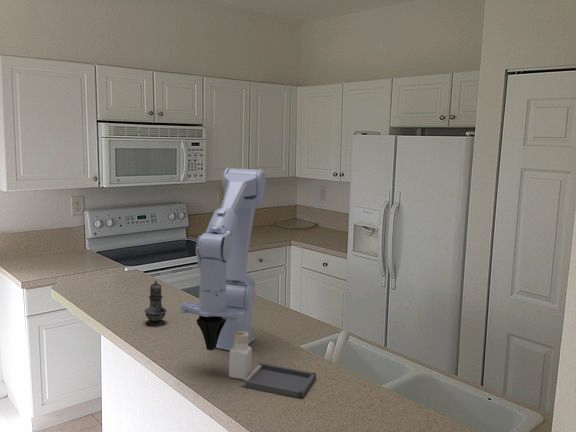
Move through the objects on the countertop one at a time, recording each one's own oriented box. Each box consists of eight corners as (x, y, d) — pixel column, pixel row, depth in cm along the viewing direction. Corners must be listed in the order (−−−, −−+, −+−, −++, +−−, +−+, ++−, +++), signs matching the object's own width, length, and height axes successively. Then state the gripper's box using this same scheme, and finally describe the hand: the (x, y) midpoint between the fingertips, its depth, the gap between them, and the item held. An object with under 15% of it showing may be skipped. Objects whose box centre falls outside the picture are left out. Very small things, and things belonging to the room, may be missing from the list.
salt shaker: (143, 320, 147) (143, 277, 145) (165, 318, 148) (166, 277, 147) (144, 327, 141) (145, 283, 139) (167, 326, 143) (168, 282, 141)
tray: (259, 367, 120) (259, 362, 120) (315, 378, 116) (316, 373, 115) (241, 386, 110) (241, 380, 110) (301, 398, 106) (302, 393, 106)
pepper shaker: (251, 373, 117) (253, 331, 115) (245, 380, 113) (247, 338, 112) (234, 370, 118) (235, 329, 116) (227, 378, 114) (229, 335, 112)
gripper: (173, 288, 113) (172, 349, 115) (235, 297, 109) (233, 361, 111) (190, 280, 120) (189, 338, 122) (249, 289, 115) (247, 349, 117)
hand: (211, 348), depth 117 cm, fingers closed
